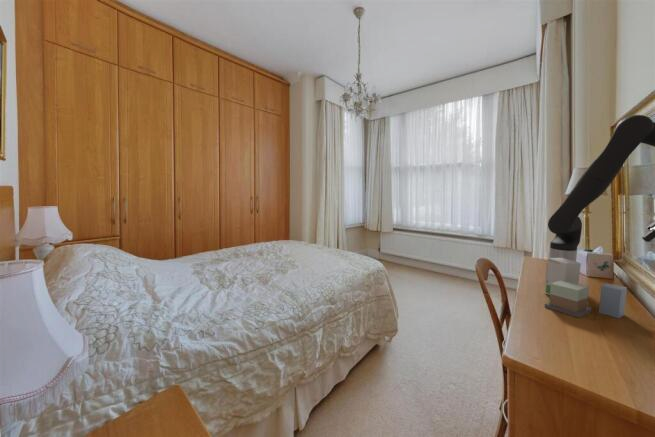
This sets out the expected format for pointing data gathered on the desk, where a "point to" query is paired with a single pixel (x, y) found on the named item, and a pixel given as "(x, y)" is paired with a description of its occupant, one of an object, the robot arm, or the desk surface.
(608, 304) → the slate column brick
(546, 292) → the skincare box
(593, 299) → the desk surface
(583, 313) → the tower base
